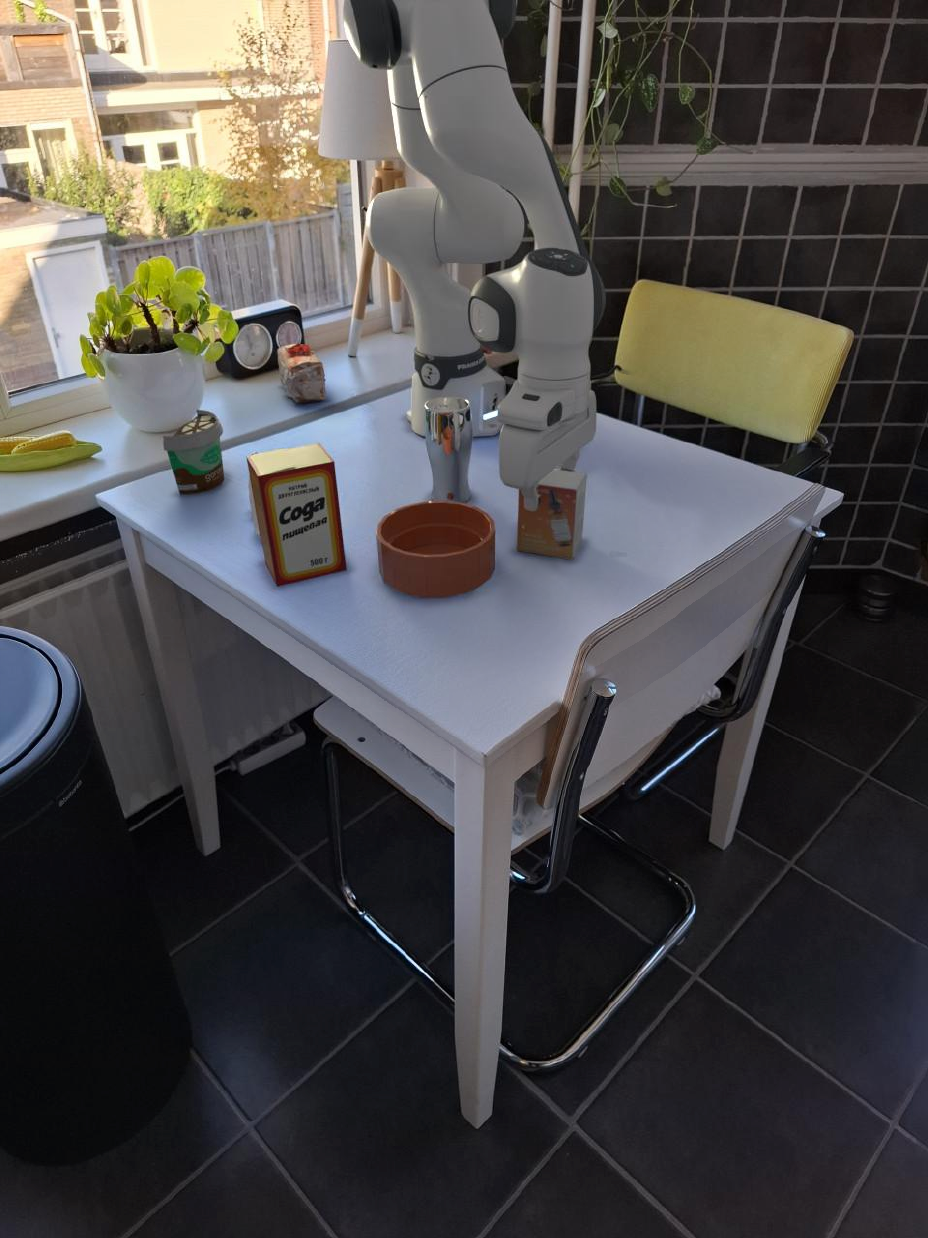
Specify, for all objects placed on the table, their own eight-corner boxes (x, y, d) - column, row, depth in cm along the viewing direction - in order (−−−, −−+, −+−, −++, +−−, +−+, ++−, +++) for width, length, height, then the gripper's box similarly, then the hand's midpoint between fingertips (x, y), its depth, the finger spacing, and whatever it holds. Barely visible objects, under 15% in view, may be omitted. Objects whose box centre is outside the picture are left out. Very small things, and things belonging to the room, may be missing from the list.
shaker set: (287, 545, 122) (275, 472, 116) (257, 549, 121) (243, 476, 115) (280, 508, 132) (270, 439, 125) (252, 511, 131) (240, 442, 125)
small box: (516, 552, 119) (516, 481, 113) (527, 533, 123) (529, 464, 117) (573, 561, 117) (577, 489, 111) (583, 541, 121) (587, 471, 115)
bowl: (403, 537, 123) (400, 495, 120) (507, 550, 119) (507, 507, 116) (362, 592, 111) (358, 548, 108) (476, 609, 107) (475, 563, 104)
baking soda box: (332, 548, 121) (319, 440, 112) (346, 570, 116) (333, 458, 107) (265, 564, 118) (245, 453, 109) (277, 586, 113) (257, 473, 104)
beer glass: (479, 491, 135) (478, 397, 126) (465, 511, 129) (462, 414, 121) (437, 486, 137) (433, 393, 128) (421, 505, 131) (416, 409, 123)
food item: (332, 401, 169) (326, 351, 164) (292, 408, 167) (285, 357, 161) (313, 381, 180) (307, 333, 174) (275, 387, 177) (268, 338, 172)
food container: (211, 501, 134) (199, 439, 129) (175, 498, 135) (161, 437, 130) (244, 468, 144) (233, 410, 139) (209, 465, 145) (198, 408, 140)
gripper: (568, 366, 116) (563, 462, 124) (489, 412, 102) (489, 519, 109) (611, 373, 113) (604, 471, 121) (536, 422, 99) (534, 530, 106)
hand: (549, 494), depth 115 cm, fingers open, 8 cm apart
